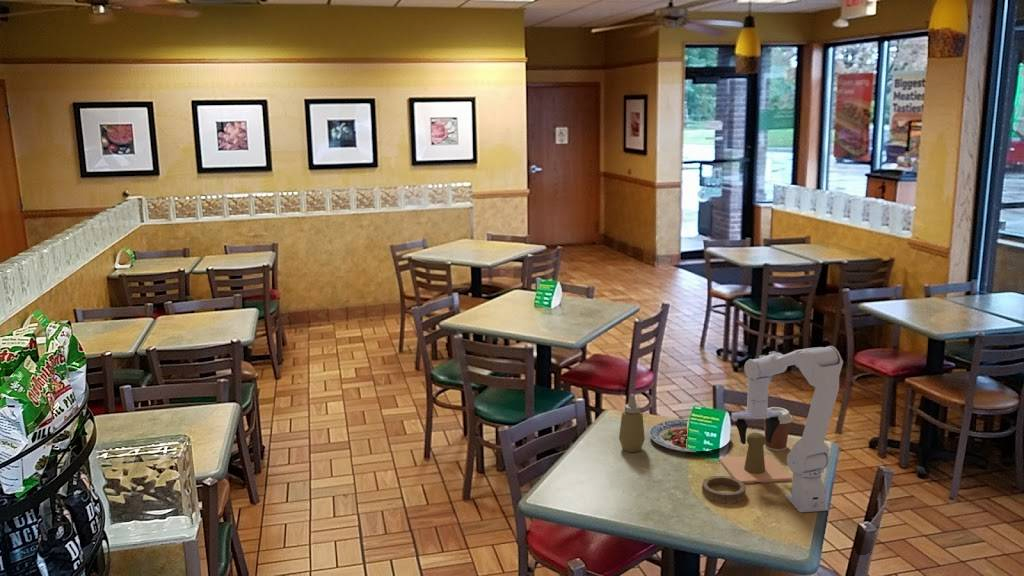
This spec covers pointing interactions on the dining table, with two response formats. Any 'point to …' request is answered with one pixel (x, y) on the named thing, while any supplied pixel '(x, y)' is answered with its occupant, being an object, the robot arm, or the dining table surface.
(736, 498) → the holder ring
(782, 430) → the coffee cup
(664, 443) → the ceramic plate
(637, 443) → the squeeze bottle
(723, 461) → the coaster
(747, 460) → the cork
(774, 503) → the dining table surface
